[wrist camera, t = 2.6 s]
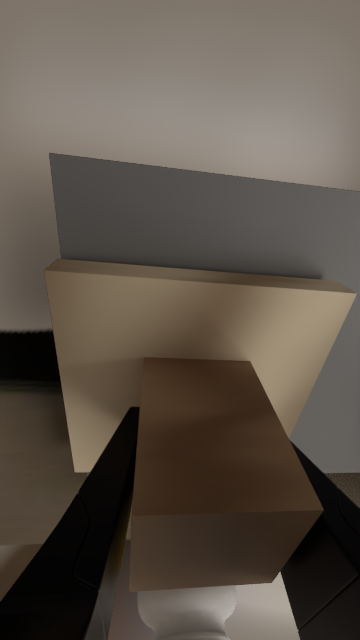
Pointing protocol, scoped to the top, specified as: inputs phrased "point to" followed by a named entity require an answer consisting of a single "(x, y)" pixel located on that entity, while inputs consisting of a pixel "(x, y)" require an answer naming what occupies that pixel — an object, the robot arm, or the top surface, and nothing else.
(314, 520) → the lid
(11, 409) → the top surface
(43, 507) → the top surface
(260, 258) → the board
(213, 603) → the supplement bottle
